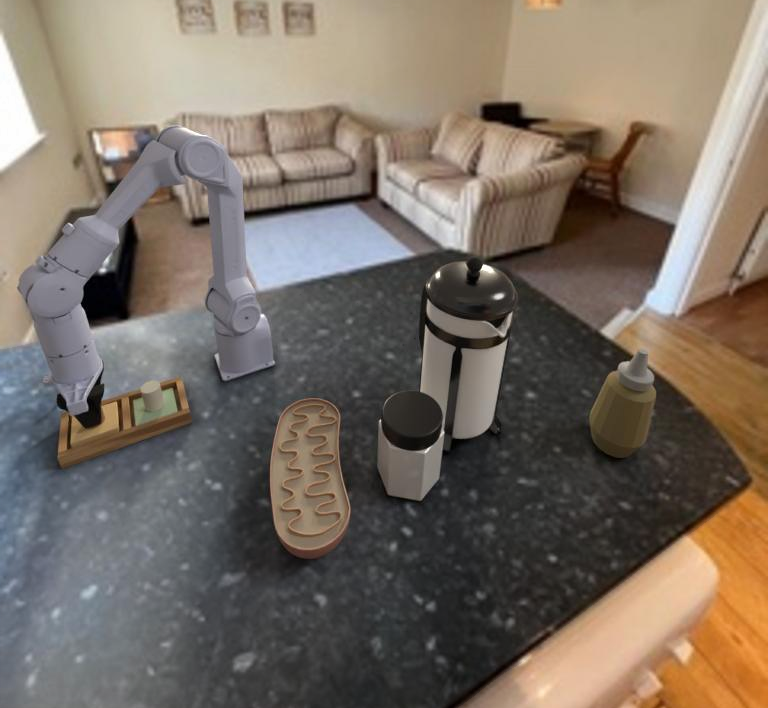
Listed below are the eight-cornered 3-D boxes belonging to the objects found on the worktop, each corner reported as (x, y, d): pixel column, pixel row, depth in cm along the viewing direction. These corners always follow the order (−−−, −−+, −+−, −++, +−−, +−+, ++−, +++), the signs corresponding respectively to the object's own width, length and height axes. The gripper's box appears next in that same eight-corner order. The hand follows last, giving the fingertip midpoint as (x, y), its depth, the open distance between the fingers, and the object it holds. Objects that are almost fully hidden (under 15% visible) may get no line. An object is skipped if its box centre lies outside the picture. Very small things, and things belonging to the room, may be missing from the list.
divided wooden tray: (65, 424, 70) (61, 413, 70) (183, 386, 79) (181, 375, 78) (61, 469, 63) (57, 458, 62) (192, 422, 71) (189, 411, 70)
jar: (404, 438, 70) (408, 379, 65) (448, 469, 65) (456, 408, 60) (365, 477, 63) (366, 415, 58) (411, 514, 59) (416, 450, 54)
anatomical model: (354, 568, 53) (354, 542, 51) (268, 584, 51) (264, 557, 49) (338, 417, 73) (337, 394, 71) (276, 425, 71) (273, 401, 69)
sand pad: (117, 405, 72) (110, 382, 70) (119, 432, 67) (111, 407, 65) (73, 420, 69) (64, 395, 67) (72, 448, 65) (62, 423, 62)
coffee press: (510, 399, 78) (540, 244, 65) (489, 473, 65) (522, 297, 52) (417, 368, 84) (428, 222, 72) (381, 430, 71) (386, 264, 58)
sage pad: (173, 391, 76) (168, 369, 74) (178, 416, 72) (173, 392, 69) (134, 404, 73) (127, 381, 71) (136, 430, 69) (129, 406, 67)
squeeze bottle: (635, 430, 72) (669, 340, 65) (644, 472, 66) (683, 377, 58) (582, 416, 75) (608, 328, 67) (585, 455, 68) (615, 362, 60)
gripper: (38, 324, 66) (64, 394, 71) (26, 387, 54) (58, 465, 60) (94, 311, 69) (114, 379, 75) (94, 368, 58) (118, 443, 63)
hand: (93, 416), depth 68 cm, fingers closed on sand pad, 3 cm apart
